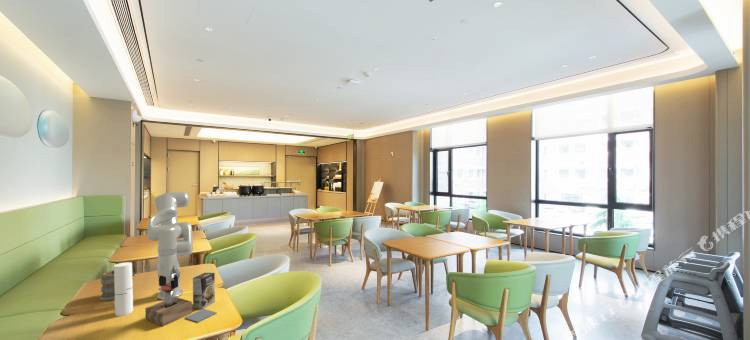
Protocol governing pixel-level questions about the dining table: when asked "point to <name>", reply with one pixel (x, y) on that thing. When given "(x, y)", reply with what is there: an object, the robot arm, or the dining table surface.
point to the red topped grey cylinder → (167, 294)
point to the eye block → (168, 311)
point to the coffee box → (203, 290)
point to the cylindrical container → (123, 288)
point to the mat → (200, 315)
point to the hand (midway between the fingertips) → (168, 286)
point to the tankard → (108, 286)
